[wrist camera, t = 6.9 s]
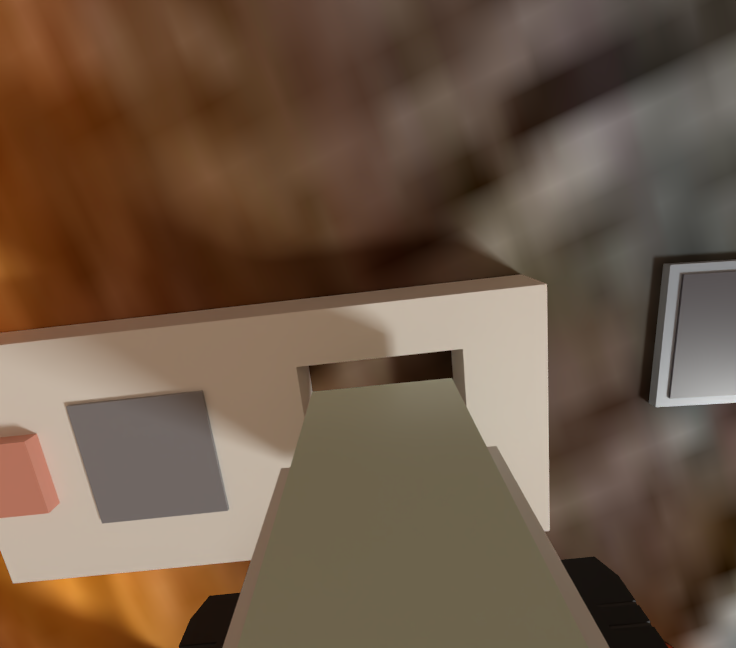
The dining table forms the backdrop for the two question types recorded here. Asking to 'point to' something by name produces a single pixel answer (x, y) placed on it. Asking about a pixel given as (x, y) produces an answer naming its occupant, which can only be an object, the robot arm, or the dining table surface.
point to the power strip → (231, 416)
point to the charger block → (401, 535)
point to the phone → (695, 335)
